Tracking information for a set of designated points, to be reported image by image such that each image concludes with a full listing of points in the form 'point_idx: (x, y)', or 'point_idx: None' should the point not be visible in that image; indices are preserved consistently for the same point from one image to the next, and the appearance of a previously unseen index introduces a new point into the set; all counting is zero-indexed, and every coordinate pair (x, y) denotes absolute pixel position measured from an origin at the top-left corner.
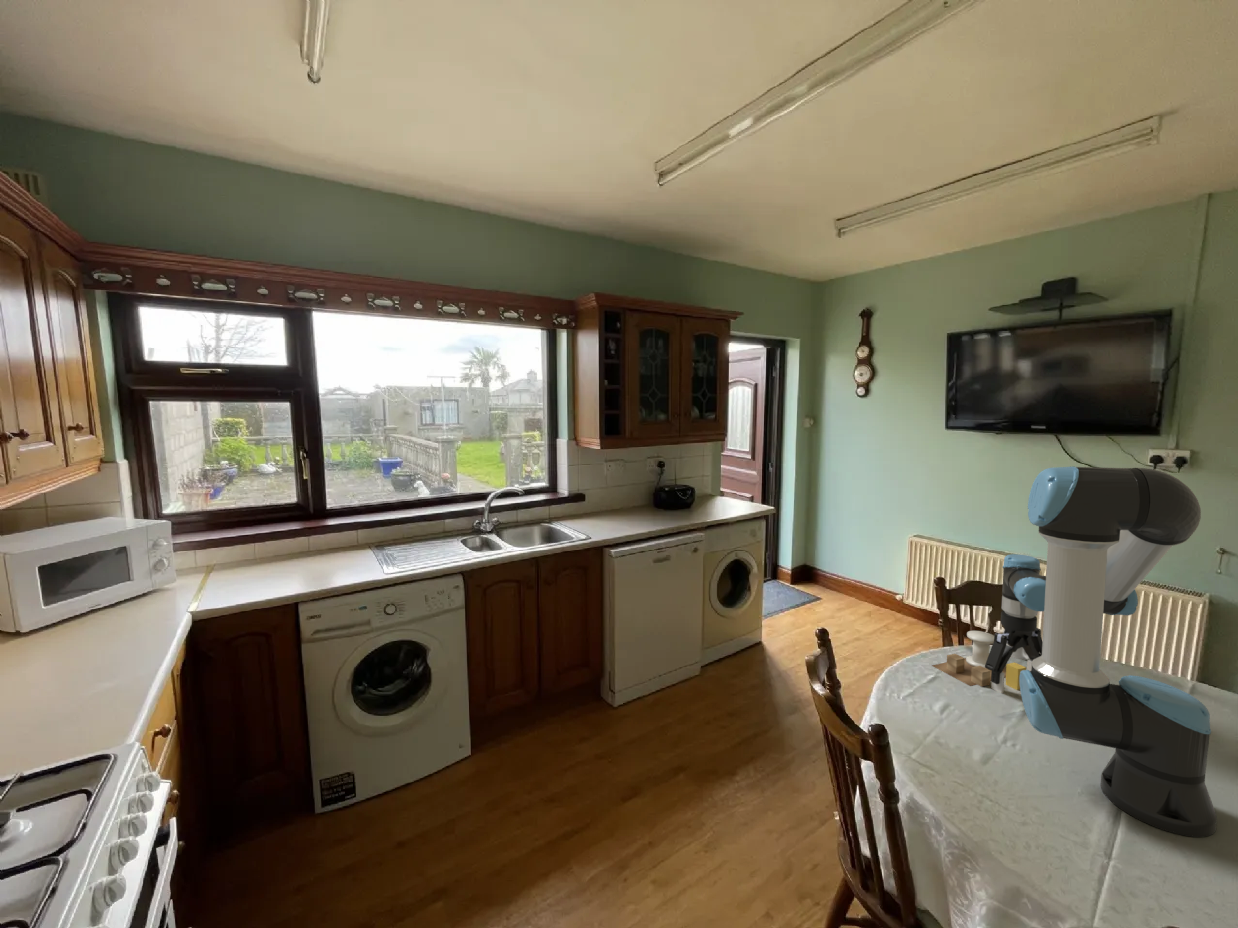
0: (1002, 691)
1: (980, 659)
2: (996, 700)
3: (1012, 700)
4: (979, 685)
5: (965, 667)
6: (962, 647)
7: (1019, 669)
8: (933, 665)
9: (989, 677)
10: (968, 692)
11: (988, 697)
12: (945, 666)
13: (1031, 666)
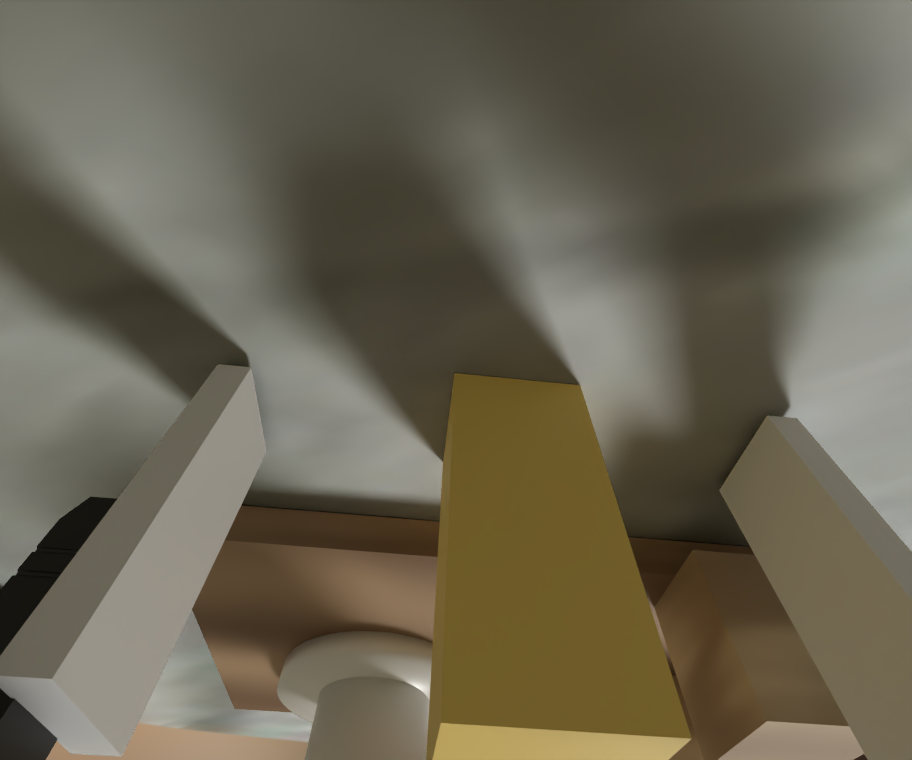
0: (816, 460)
1: (417, 735)
2: (898, 404)
3: (774, 341)
4: None
5: None
6: (247, 734)
7: (640, 719)
8: None
9: (737, 628)
10: None
11: (877, 456)
12: None
13: (142, 639)
